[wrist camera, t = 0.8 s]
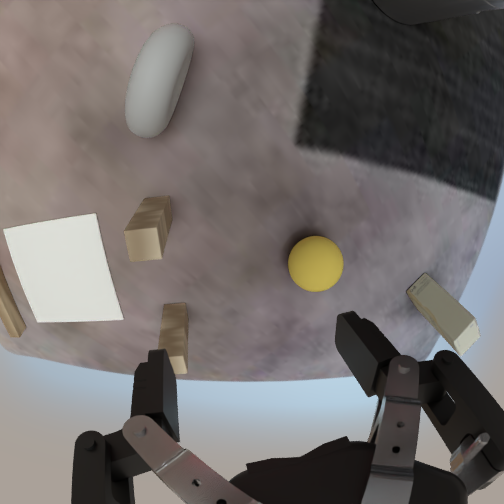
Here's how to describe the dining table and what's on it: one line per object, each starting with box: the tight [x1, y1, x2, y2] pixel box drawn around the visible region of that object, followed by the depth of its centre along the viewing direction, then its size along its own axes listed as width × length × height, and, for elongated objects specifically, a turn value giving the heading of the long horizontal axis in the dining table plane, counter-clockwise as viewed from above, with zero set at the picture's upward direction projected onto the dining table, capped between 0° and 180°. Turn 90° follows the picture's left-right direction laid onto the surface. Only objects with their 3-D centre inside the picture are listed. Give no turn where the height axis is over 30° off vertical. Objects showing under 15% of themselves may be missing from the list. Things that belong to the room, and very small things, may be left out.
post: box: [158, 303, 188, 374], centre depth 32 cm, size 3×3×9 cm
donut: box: [125, 23, 194, 138], centre depth 20 cm, size 10×4×10 cm, turn 162°
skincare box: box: [406, 273, 481, 356], centre depth 36 cm, size 6×4×12 cm
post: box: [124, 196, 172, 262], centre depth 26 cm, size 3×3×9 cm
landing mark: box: [3, 213, 124, 322], centre depth 31 cm, size 14×14×1 cm
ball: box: [288, 236, 343, 292], centre depth 32 cm, size 6×6×6 cm
